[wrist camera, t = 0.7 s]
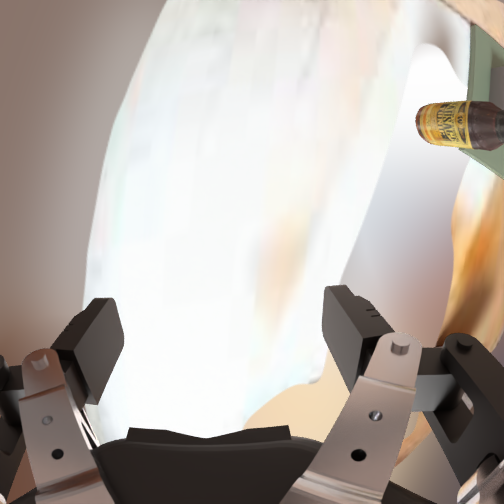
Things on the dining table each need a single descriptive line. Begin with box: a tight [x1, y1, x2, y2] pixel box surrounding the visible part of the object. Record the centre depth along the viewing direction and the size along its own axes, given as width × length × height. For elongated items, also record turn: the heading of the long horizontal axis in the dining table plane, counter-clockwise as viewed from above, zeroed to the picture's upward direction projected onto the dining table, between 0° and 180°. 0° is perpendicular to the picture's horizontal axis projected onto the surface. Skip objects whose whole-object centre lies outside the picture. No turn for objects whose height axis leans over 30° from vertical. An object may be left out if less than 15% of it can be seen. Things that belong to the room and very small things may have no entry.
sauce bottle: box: [416, 101, 504, 151], centre depth 27 cm, size 7×6×20 cm
